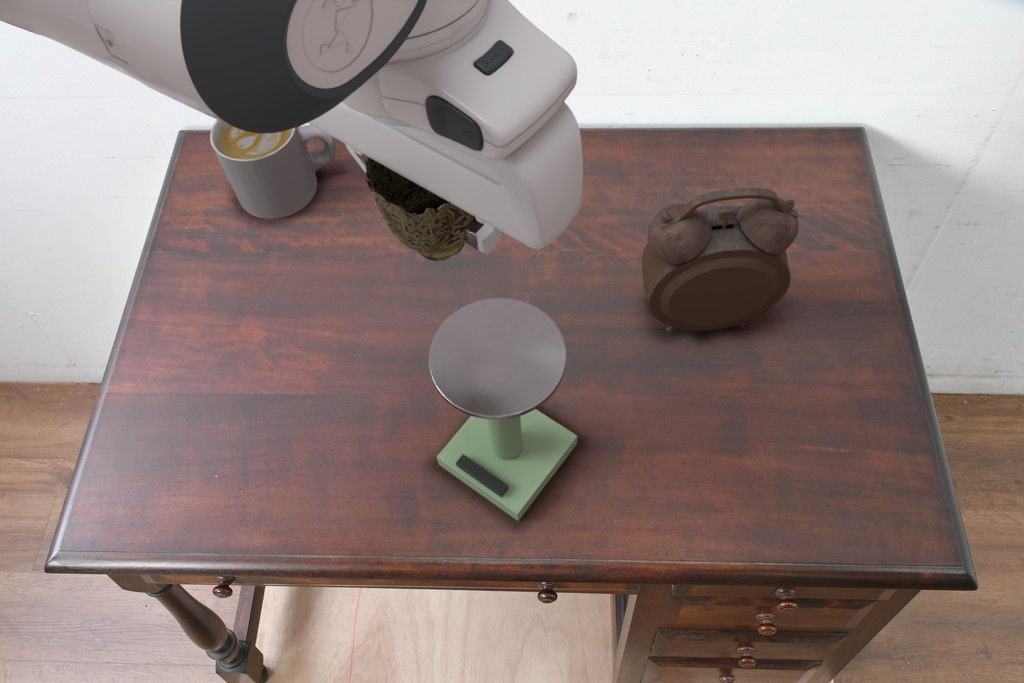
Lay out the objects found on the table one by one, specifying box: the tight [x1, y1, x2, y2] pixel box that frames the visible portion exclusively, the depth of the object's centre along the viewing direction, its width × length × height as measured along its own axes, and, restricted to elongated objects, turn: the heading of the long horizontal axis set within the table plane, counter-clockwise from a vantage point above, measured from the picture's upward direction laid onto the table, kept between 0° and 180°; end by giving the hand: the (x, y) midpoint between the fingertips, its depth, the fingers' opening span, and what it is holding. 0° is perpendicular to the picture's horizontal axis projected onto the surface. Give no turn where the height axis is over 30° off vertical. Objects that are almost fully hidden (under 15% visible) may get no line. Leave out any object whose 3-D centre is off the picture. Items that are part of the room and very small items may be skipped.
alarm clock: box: [641, 187, 800, 333], centre depth 80 cm, size 15×7×20 cm, turn 94°
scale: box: [436, 408, 578, 522], centre depth 73 cm, size 10×10×18 cm
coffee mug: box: [209, 119, 337, 220], centre depth 96 cm, size 13×10×10 cm
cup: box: [365, 156, 476, 262], centre depth 51 cm, size 8×7×8 cm
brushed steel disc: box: [428, 297, 567, 420], centre depth 64 cm, size 11×11×2 cm
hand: (435, 215), depth 52 cm, fingers closed on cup, 7 cm apart
